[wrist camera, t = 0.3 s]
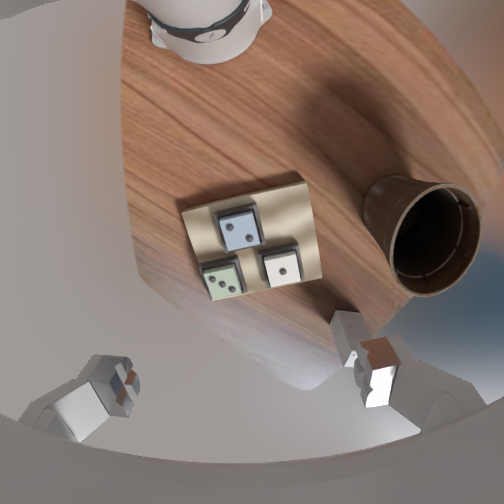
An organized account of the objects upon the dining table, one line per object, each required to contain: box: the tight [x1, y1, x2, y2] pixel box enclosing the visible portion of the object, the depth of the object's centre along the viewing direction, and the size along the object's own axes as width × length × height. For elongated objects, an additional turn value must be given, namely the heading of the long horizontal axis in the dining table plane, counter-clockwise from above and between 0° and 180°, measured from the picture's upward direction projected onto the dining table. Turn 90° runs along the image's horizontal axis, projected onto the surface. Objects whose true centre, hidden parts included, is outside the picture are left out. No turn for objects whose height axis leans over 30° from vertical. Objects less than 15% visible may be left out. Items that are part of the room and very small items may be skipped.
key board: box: [181, 181, 322, 301], centre depth 48 cm, size 17×20×4 cm
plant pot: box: [363, 175, 482, 297], centre depth 39 cm, size 16×16×16 cm
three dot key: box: [203, 263, 242, 299], centre depth 48 cm, size 5×5×2 cm
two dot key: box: [219, 210, 260, 251], centre depth 44 cm, size 5×5×2 cm
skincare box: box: [329, 310, 373, 367], centre depth 52 cm, size 6×4×12 cm
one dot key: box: [264, 250, 301, 288], centre depth 47 cm, size 5×5×2 cm
